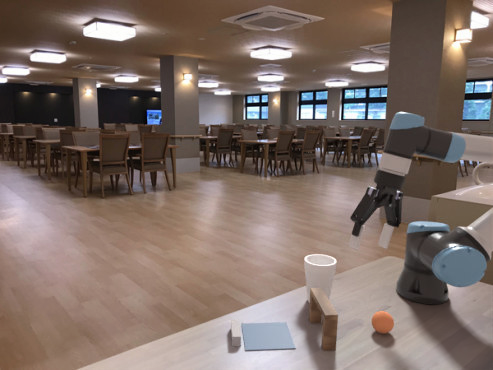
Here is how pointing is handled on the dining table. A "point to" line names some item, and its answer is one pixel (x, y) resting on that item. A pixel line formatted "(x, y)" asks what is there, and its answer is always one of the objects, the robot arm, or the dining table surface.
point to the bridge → (324, 318)
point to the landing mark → (267, 336)
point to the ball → (382, 322)
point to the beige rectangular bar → (235, 333)
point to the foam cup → (319, 273)
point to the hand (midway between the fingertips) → (368, 247)
